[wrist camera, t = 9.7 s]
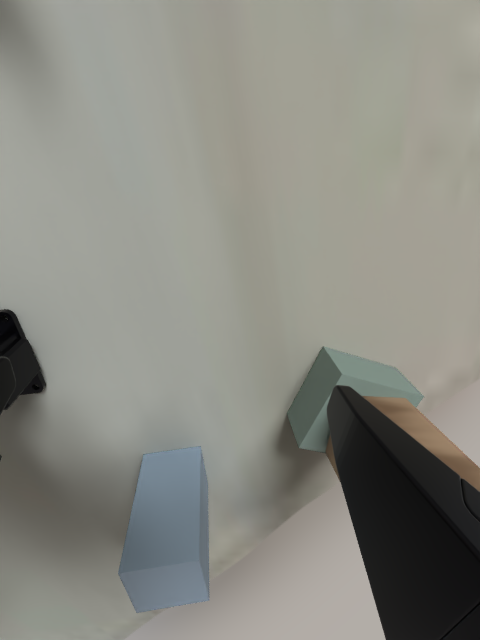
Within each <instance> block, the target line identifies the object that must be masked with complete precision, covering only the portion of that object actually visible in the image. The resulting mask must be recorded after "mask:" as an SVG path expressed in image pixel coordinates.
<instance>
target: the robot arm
mask: <svg viewBox="0 0 480 640" xmlns="http://www.w3.org/2000/svg"><path fill="white" fill-rule="evenodd" d="M4 315H5V316H7V317H8V318H9V320H7V319H5V318H4ZM35 384H37V385H38V386H39V387H38V386H36V385H35ZM45 386H46V384H45V381H44V379H43V376H42V374H41V372H40V367H39V365H38V362H37V360H36V358H35V356H34V353H33V351H32V349H31V346H30V344H29V342H28V340H27V339H26V338H25V335H24V333H23V331H22V328H21V326H20V324H19V322H18V319H17V317H16V315H15V314H14V312H12V311H11V310H6V309H4V310H0V414H1V413H2V411H3V410H7V409H8V408H9V407H10V406H11V405H12V404H13V402H14V401H15V400H16V399H17V398H18V396H19V395H24V394H32V393H39V392H41V391H42V390H43V389H44V388H45ZM327 418H328V424H329V429H330V435H331V441H332V447H333V453H334V458H335V463H336V467H337V471H338V475H339V478H340V481H341V485H342V488H343V492H344V495H345V499H346V502H347V506H348V509H349V513H350V516H351V520H352V523H353V526H354V530H355V533H356V537H357V540H358V544H359V547H360V551H361V555H362V558H363V561H364V565H365V568H366V572H367V575H368V579H369V582H370V585H371V589H372V593H373V596H374V600H375V603H376V607H377V610H378V613H379V617H380V621H381V624H382V628H383V631H384V635H385V638H386V640H480V491H478V490H477V489H476V488H475V487H473V486H472V485H471V484H470V483H469V482H467V481H466V480H465V479H463V478H461V477H460V475H459V474H457V473H456V472H455V471H454V470H452V469H451V468H450V467H449V466H447V465H446V464H445V463H444V462H443V461H441V460H440V459H439V458H438V457H436V456H435V455H434V454H433V453H431V452H430V451H429V450H428V449H427V448H425V447H424V446H423V445H422V444H420V443H419V442H418V441H417V440H415V439H414V438H413V437H412V436H411V435H409V434H408V433H407V432H406V431H404V430H403V429H402V428H401V427H399V426H398V425H397V424H396V423H395V422H393V421H392V420H391V419H390V418H388V417H387V416H386V415H385V414H383V413H382V412H381V411H380V410H379V409H377V408H376V407H375V406H374V405H372V404H371V403H370V402H369V401H367V400H366V399H365V398H364V397H362V396H361V395H360V394H359V393H358V392H356V391H355V390H354V389H353V388H351V387H350V386H345V385H336V386H334V388H333V390H332V393H331V396H330V399H329V402H328V405H327ZM1 457H2V456H1V455H0V460H1Z"/></svg>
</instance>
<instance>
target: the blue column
mask: <svg viewBox="0 0 480 640" xmlns="http://www.w3.org/2000/svg"><path fill="white" fill-rule="evenodd" d="M118 574H119V576H120V579H121V581H122V583H123V585H124V587H125V589H126V591H127V593H128V596H129V598H130V600H131V602H132V604H133V606H134V608H135V610H136V613H139V612H145V611H151V610H156V609H162V608H168V607H174V606H180V605H186V604H191V603H197V602H203V601H208V600H209V531H208V482H207V476H206V471H205V466H204V461H203V456H202V450H201V446H198V447H191V448H184V449H177V450H170V451H163V452H156V453H149V454H144V455H143V460H142V464H141V469H140V474H139V478H138V483H137V488H136V492H135V497H134V502H133V506H132V511H131V516H130V520H129V525H128V530H127V534H126V539H125V544H124V548H123V553H122V558H121V562H120V567H119V572H118Z"/></svg>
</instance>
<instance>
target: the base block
mask: <svg viewBox="0 0 480 640" xmlns="http://www.w3.org/2000/svg"><path fill="white" fill-rule="evenodd" d="M336 385H345V386H350V387H351V388H353V389H354V390H355V391H356V392H358V393H359V394H360V395H361V396H374V397H394V398H406V399H407V400H408V401H409V402H410V403H411V404H412V405H413V406H415V407H417V406H418V404H419V403H420V401H421V400H422V399H423V397H424V396H423V395H422V394H421V393H420V392H419V391H418V390H417V389H416V388H415V387H414V386H413V385H412V384H411V383H410V382H409V381H408V379H407V378H406V377H405V376H404V375H403V374H402V373H401V372H400V371H399V370H398V369H397V368H395V367H392V366H388V365H385V364H382V363H378V362H375V361H371V360H368V359H364V358H361V357H358V356H354V355H351V354H347V353H344V352H341V351H337V350H334V349H330V348H327V347H323V348H322V349H321V351H320V353H319V355H318V357H317V359H316V361H315V362H314V364H313V366H312V368H311V370H310V372H309V373H308V375H307V377H306V379H305V381H304V383H303V385H302V386H301V388H300V390H299V392H298V394H297V396H296V398H295V399H294V401H293V403H292V405H291V407H290V409H289V411H288V412H287V415H288V418H289V421H290V424H291V427H292V430H293V433H294V435H295V438H296V441H297V444H298V447H299V448H302V449H307V450H312V451H317V452H322V453H326V452H325V451H326V447H327V443H328V440H329V436H330V429H329V424H328V418H327V405H328V402H329V399H330V396H331V393H332V390H333V388H334V386H336Z"/></svg>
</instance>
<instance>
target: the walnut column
mask: <svg viewBox="0 0 480 640" xmlns="http://www.w3.org/2000/svg"><path fill="white" fill-rule="evenodd" d="M362 397H364V398H365V399H366V400H367V401H369V402H370V403H371V404H372V405H374V406H375V407H376V408H377V409H379V410H380V411H381V412H382V413H383V414H385V415H386V416H387V417H388V418H390V419H391V420H392V421H393V422H395V423H396V424H397V425H398V426H399V427H401V428H402V429H403V430H404V431H406V432H407V433H408V434H409V435H411V436H412V437H413V438H414V439H415V440H417V441H418V442H419V443H420V444H422V445H423V446H424V447H425V448H427V449H428V450H429V451H430V452H431V453H433V454H434V455H435V456H436V457H438V458H439V459H440V460H441V461H443V462H444V463H445V464H446V465H447V466H449V467H450V468H451V469H452V470H454V471H455V472H456V473H457V474H459V475H460V477H461V478H463V479H465V480H466V481H467V482H469V483H470V484H471V485H472V486H473V487H475V488H476V489H477V490H478V491H480V468H479V467H478V466H477V465H476V464H475V463H474V462H473V461H472V460H471V459H469V458H468V457H467V456H466V455H465V454H464V453H463V452H462V451H461V450H460V449H459V448H458V447H457V446H456V445H455V444H453V442H451V441H450V440H449V439H448V438H447V437H446V436H445V435H444V434H443V433H442V432H441V431H440V430H439V429H438V428H437V427H436V426H434V425H433V424H432V423H431V422H430V421H429V420H428V419H427V418H426V417H425V416H424V415H423V414H422V413H421V412H420V411H419V410H418V409H417V408H416V407H415V406H413V405H412V404H411V403H410V402H409V401H408V400H407V399H406V398H394V397H374V396H362ZM325 452H326V454H327V456H328V458H329V460H330V462H331V464H332V466H333V468H334V470H335V472H336V474H337V476H338V478H339V475H338V471H337V467H336V463H335V458H334V453H333V447H332V441H331V435H330V436H329V440H328V443H327V447H326V451H325ZM339 480H340V478H339ZM340 482H341V481H340Z"/></svg>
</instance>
